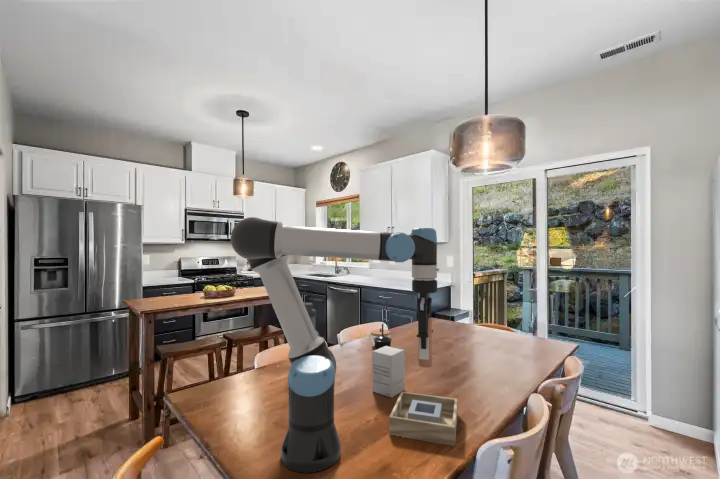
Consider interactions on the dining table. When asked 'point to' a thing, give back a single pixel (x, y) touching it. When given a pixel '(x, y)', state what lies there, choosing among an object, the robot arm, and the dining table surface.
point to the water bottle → (311, 314)
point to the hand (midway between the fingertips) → (425, 356)
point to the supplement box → (388, 371)
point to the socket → (425, 411)
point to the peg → (429, 362)
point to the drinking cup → (382, 341)
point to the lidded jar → (379, 334)
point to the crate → (424, 429)
